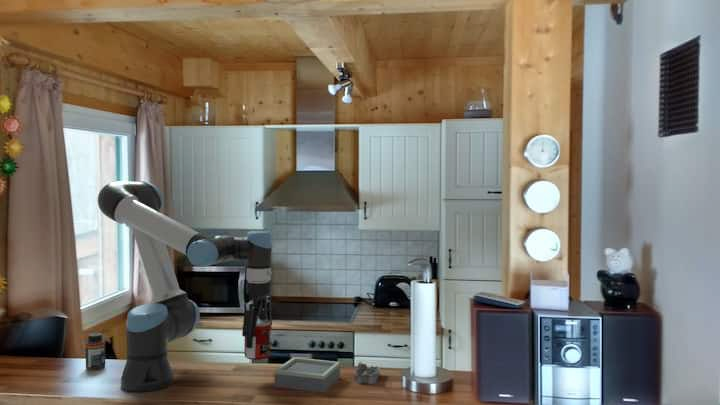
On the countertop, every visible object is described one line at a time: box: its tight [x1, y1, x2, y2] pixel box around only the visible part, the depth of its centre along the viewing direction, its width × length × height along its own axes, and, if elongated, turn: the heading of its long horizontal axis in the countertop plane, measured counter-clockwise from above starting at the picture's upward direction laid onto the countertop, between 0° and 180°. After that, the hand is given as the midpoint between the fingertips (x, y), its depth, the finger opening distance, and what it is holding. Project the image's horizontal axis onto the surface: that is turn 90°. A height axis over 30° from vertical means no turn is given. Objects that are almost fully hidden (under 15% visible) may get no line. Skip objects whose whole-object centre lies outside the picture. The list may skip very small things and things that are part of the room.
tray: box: [274, 356, 341, 394], centre depth 176 cm, size 16×14×5 cm
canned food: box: [243, 318, 272, 361], centre depth 177 cm, size 8×8×11 cm
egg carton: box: [354, 361, 381, 385], centre depth 180 cm, size 11×8×4 cm
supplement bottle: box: [85, 332, 106, 371], centre depth 188 cm, size 6×6×11 cm
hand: (257, 353), depth 177 cm, fingers closed on canned food, 8 cm apart
